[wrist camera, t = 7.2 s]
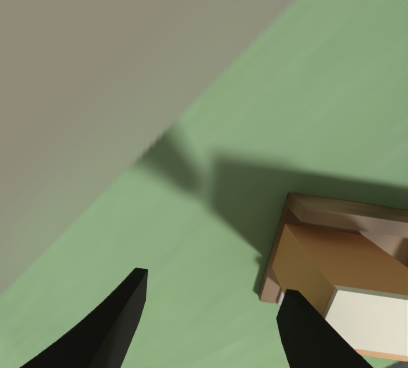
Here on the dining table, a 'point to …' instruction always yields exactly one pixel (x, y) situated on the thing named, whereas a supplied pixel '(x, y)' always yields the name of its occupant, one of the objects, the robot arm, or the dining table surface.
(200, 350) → the dining table surface
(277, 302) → the shelf
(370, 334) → the tan block
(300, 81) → the dining table surface
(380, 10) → the dining table surface
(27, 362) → the robot arm
